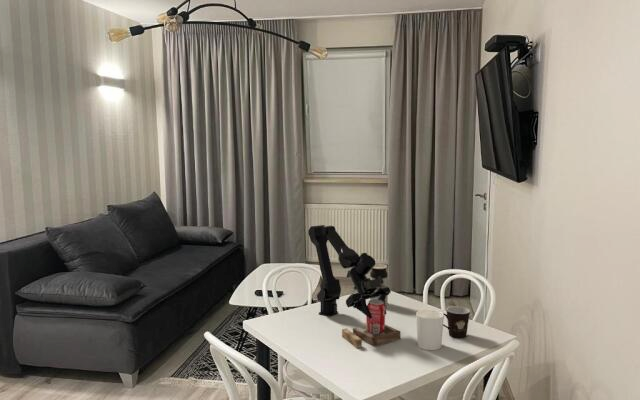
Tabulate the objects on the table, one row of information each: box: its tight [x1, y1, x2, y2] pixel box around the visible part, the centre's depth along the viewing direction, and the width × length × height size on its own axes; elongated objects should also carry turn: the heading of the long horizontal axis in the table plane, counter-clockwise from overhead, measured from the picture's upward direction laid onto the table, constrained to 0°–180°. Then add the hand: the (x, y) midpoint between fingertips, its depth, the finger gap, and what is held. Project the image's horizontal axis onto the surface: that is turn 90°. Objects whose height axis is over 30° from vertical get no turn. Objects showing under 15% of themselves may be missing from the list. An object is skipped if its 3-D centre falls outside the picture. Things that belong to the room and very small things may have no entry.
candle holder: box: [415, 309, 445, 351], centre depth 176 cm, size 10×10×12 cm
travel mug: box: [369, 263, 389, 306], centre depth 223 cm, size 8×8×18 cm
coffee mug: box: [442, 305, 471, 339], centre depth 186 cm, size 12×9×10 cm
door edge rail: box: [341, 328, 363, 349], centre depth 180 cm, size 12×2×3 cm, turn 24°
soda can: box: [365, 299, 386, 335], centre depth 184 cm, size 7×7×12 cm
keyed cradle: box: [352, 324, 401, 347], centre depth 184 cm, size 13×13×3 cm
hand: (378, 316), depth 183 cm, fingers closed on soda can, 7 cm apart
